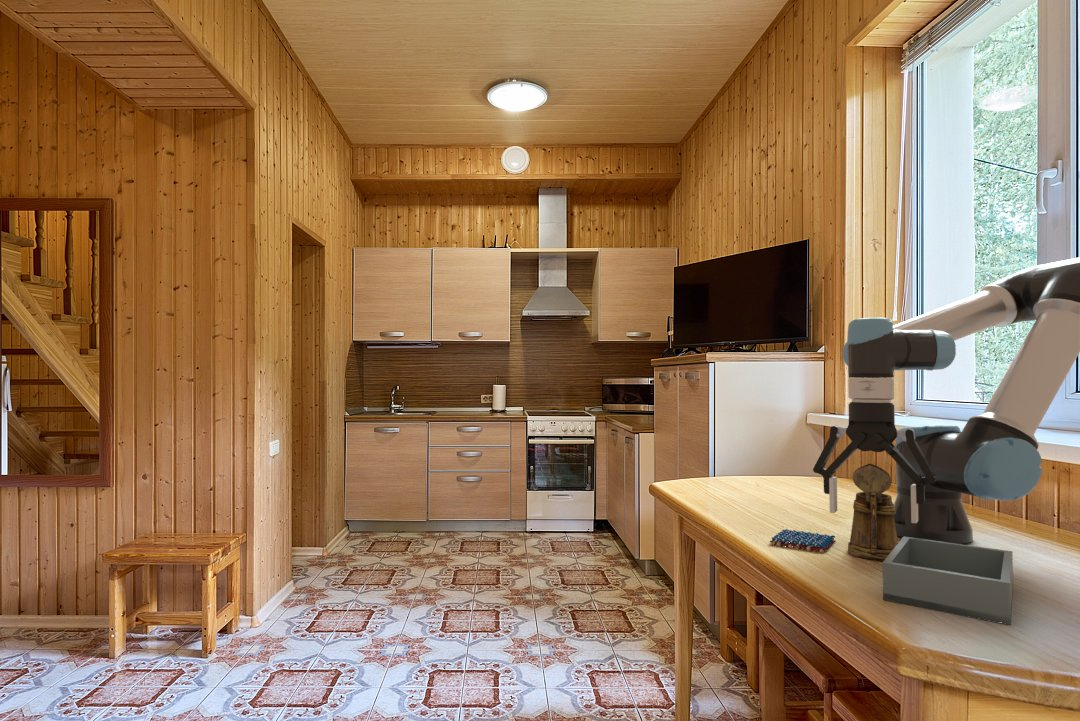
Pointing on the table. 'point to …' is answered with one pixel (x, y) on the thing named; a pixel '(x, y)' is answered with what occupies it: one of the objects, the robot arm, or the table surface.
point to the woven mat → (803, 540)
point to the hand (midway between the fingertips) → (872, 516)
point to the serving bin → (950, 578)
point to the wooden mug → (872, 515)
